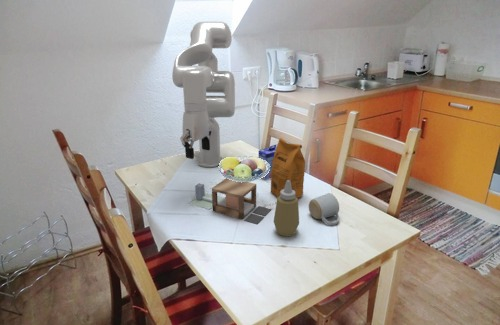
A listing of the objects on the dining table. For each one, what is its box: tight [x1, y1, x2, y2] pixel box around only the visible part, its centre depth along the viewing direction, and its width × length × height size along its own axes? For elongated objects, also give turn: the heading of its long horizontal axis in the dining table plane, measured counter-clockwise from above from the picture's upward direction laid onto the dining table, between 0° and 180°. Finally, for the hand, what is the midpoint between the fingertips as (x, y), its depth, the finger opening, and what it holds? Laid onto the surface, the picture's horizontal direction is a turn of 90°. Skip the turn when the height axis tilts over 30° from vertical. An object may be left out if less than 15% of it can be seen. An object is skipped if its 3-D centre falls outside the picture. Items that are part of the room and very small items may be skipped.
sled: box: [194, 182, 254, 217], centre depth 128 cm, size 22×7×6 cm, turn 62°
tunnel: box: [211, 177, 257, 220], centre depth 125 cm, size 12×10×9 cm
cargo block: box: [225, 194, 239, 209], centre depth 126 cm, size 4×4×4 cm
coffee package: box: [270, 137, 306, 198], centre depth 133 cm, size 10×12×22 cm
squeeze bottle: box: [273, 180, 300, 237], centre depth 110 cm, size 8×8×18 cm
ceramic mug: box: [308, 193, 340, 226], centre depth 120 cm, size 11×8×8 cm
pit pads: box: [243, 205, 272, 225], centre depth 123 cm, size 5×11×1 cm, turn 152°
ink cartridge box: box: [258, 143, 278, 181], centre depth 151 cm, size 10×6×14 cm, turn 130°
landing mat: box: [188, 192, 225, 210], centre depth 132 cm, size 9×10×1 cm
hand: (198, 153), depth 127 cm, fingers open, 9 cm apart
